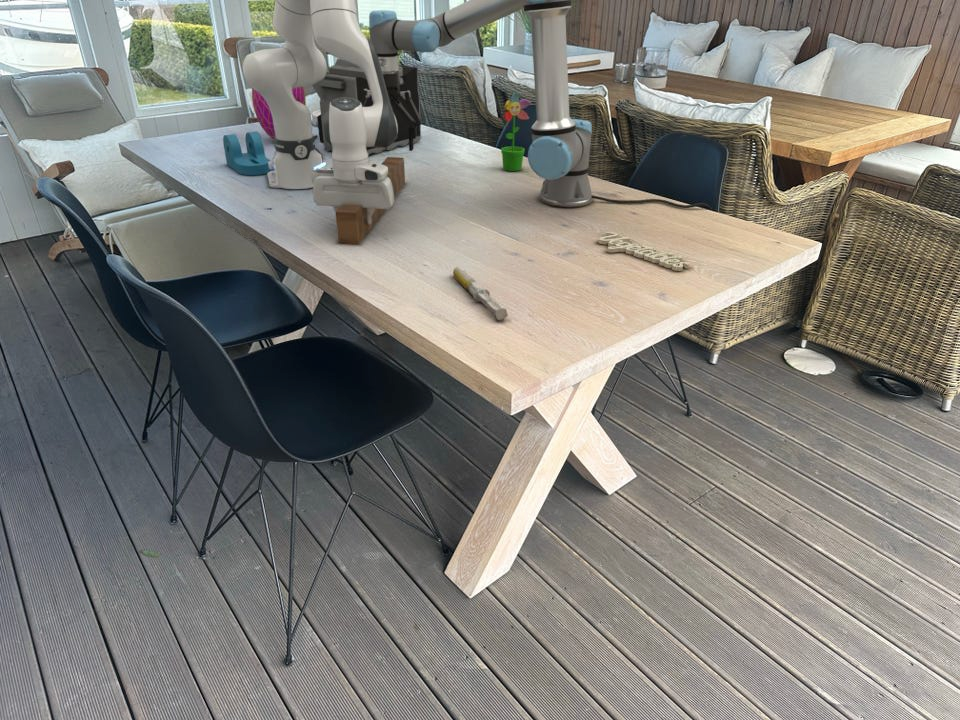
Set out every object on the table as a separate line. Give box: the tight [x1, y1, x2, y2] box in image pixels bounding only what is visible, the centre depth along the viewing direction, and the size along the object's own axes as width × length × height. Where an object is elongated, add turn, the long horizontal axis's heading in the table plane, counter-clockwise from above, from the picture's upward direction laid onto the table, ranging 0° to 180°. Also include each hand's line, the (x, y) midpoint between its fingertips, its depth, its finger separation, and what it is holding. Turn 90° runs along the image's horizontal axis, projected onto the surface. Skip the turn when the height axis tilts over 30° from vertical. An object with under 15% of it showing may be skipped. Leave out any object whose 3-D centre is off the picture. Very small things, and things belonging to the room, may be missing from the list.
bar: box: [334, 156, 406, 245], centre depth 192 cm, size 53×5×8 cm, turn 173°
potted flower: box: [500, 91, 532, 172], centre depth 226 cm, size 9×8×25 cm
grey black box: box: [311, 58, 422, 156], centre depth 250 cm, size 37×22×30 cm, turn 144°
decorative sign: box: [598, 231, 690, 272], centre depth 167 cm, size 26×1×10 cm
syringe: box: [452, 266, 509, 321], centre depth 145 cm, size 25×4×3 cm, turn 21°
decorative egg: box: [251, 87, 307, 140], centre depth 257 cm, size 19×19×30 cm
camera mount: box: [222, 131, 272, 176], centre depth 226 cm, size 18×10×10 cm, turn 35°
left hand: (355, 223), depth 176 cm, fingers closed on bar, 5 cm apart
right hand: (389, 148), depth 204 cm, fingers open, 13 cm apart
